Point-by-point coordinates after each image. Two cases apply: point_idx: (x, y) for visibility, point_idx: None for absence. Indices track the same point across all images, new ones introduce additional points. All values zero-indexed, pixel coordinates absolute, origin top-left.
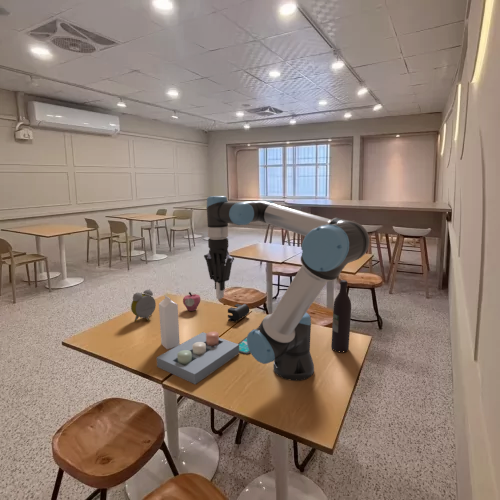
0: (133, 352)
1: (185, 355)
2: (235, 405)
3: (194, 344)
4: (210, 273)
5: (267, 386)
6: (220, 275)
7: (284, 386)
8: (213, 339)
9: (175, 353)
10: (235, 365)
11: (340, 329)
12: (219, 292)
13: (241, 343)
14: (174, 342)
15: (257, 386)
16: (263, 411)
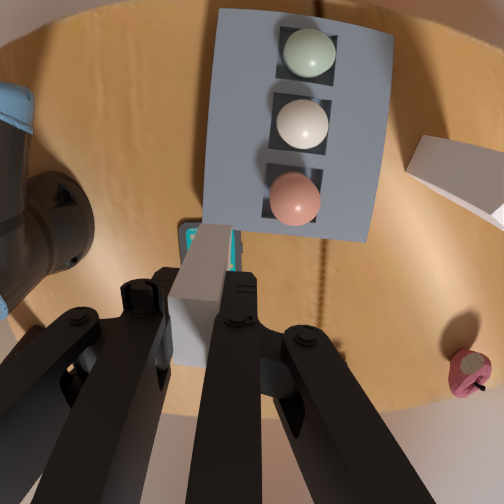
0: (481, 89)
1: (298, 42)
2: (90, 23)
3: (321, 120)
4: (329, 388)
5: (63, 121)
6: (109, 368)
7: (38, 146)
8: (277, 181)
9: (360, 74)
10: (177, 152)
11: (8, 357)
12: (189, 247)
13: (231, 266)
14: (419, 159)
15: (80, 106)
16: (39, 51)
